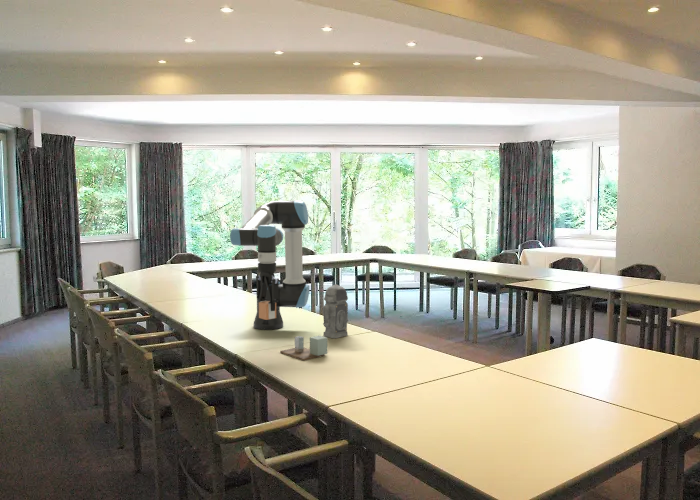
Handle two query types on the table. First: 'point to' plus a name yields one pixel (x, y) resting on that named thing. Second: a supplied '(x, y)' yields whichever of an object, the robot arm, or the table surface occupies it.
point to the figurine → (335, 312)
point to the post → (299, 344)
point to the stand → (300, 354)
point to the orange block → (264, 310)
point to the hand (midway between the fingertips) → (267, 317)
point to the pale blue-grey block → (318, 345)
